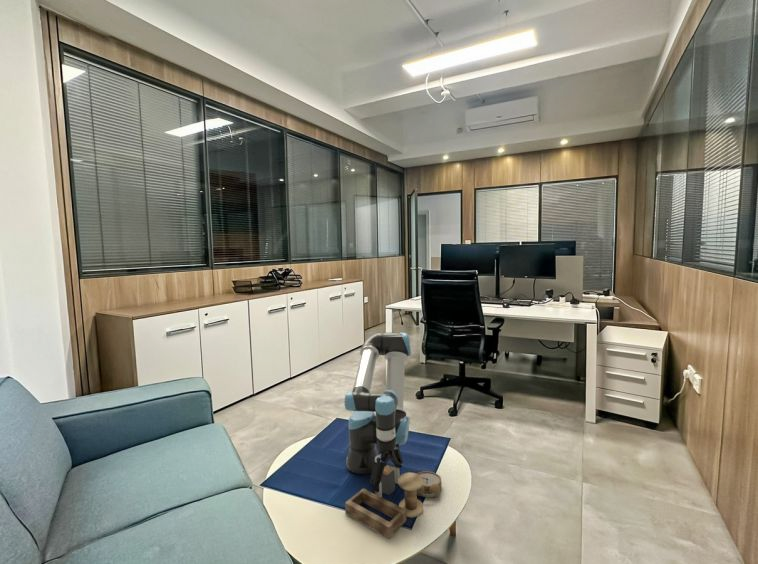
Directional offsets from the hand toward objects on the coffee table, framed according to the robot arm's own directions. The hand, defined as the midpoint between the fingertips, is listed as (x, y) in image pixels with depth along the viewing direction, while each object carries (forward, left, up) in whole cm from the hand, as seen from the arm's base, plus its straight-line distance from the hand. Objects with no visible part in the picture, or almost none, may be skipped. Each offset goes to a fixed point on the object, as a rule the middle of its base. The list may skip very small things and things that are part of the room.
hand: (387, 490), depth 143 cm
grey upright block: (0, 0, 0) cm, 0 cm away
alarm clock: (+12, +10, -1) cm, 16 cm away
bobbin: (+13, -3, 0) cm, 13 cm away
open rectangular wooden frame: (+5, -14, 0) cm, 15 cm away
